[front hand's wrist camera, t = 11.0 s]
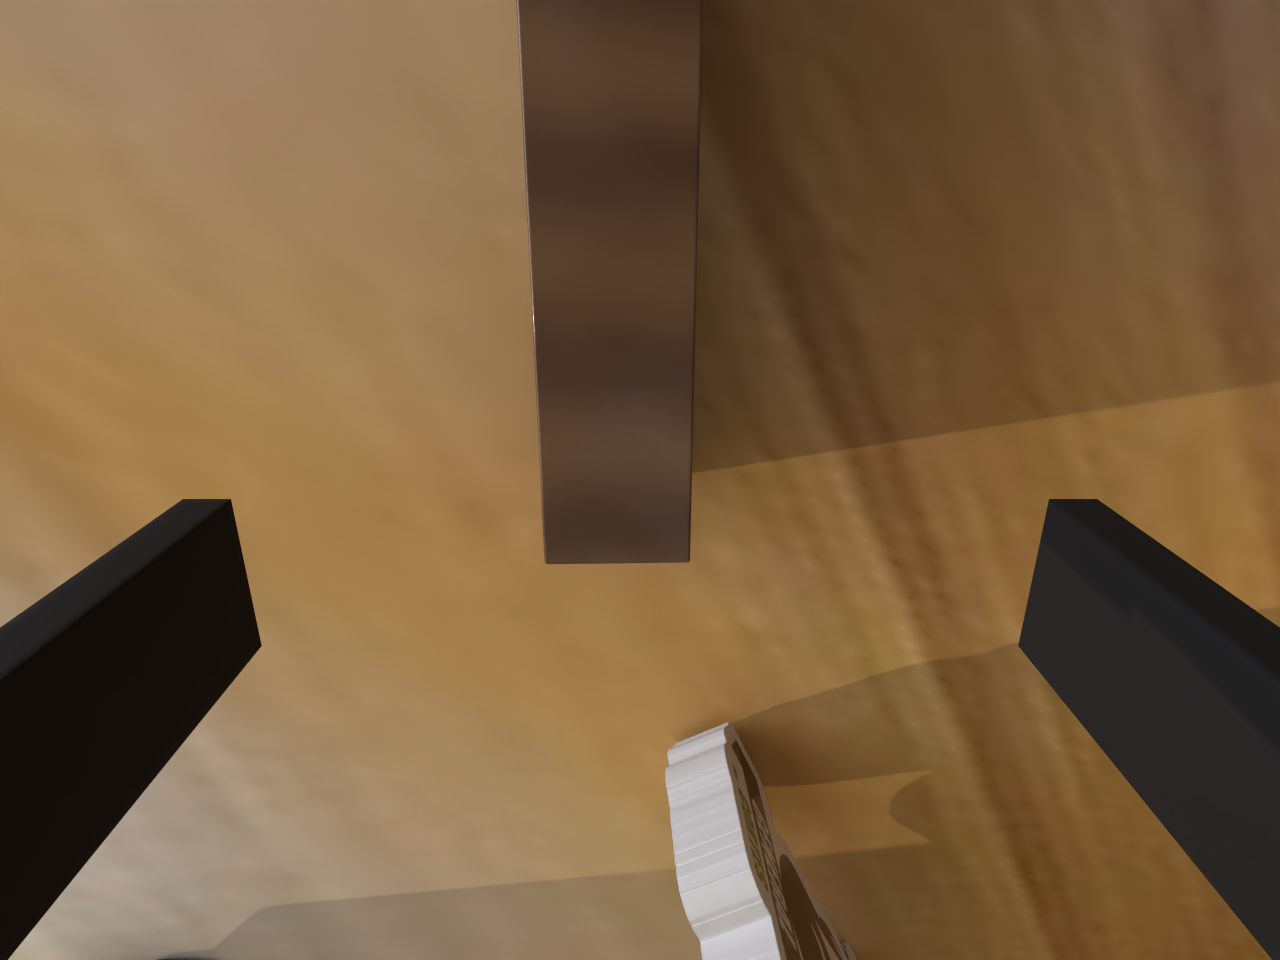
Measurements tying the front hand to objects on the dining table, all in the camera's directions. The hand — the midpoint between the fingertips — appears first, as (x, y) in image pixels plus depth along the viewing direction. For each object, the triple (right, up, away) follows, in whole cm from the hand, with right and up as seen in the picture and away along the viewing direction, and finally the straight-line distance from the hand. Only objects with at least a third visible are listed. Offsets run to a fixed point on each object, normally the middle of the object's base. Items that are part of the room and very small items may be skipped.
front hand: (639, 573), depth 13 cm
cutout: (+8, -19, +28) cm, 35 cm away
